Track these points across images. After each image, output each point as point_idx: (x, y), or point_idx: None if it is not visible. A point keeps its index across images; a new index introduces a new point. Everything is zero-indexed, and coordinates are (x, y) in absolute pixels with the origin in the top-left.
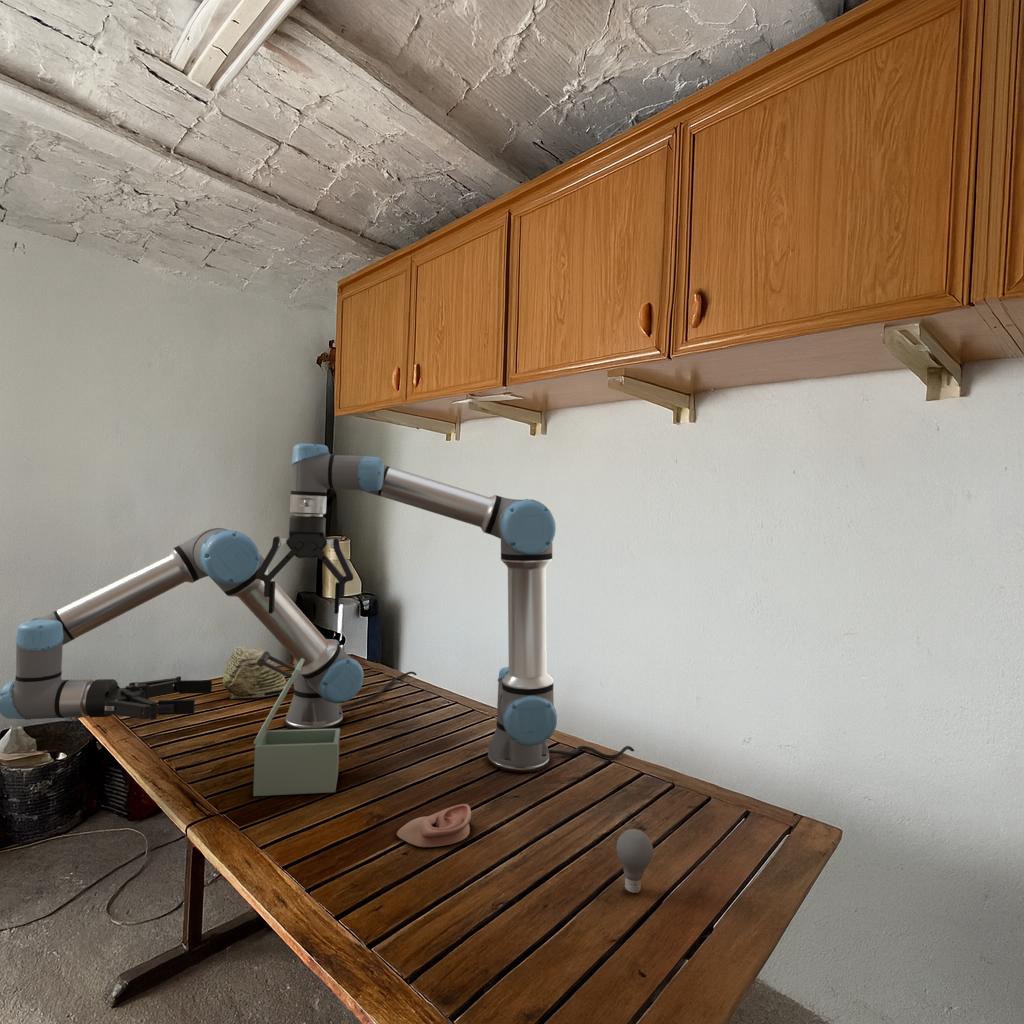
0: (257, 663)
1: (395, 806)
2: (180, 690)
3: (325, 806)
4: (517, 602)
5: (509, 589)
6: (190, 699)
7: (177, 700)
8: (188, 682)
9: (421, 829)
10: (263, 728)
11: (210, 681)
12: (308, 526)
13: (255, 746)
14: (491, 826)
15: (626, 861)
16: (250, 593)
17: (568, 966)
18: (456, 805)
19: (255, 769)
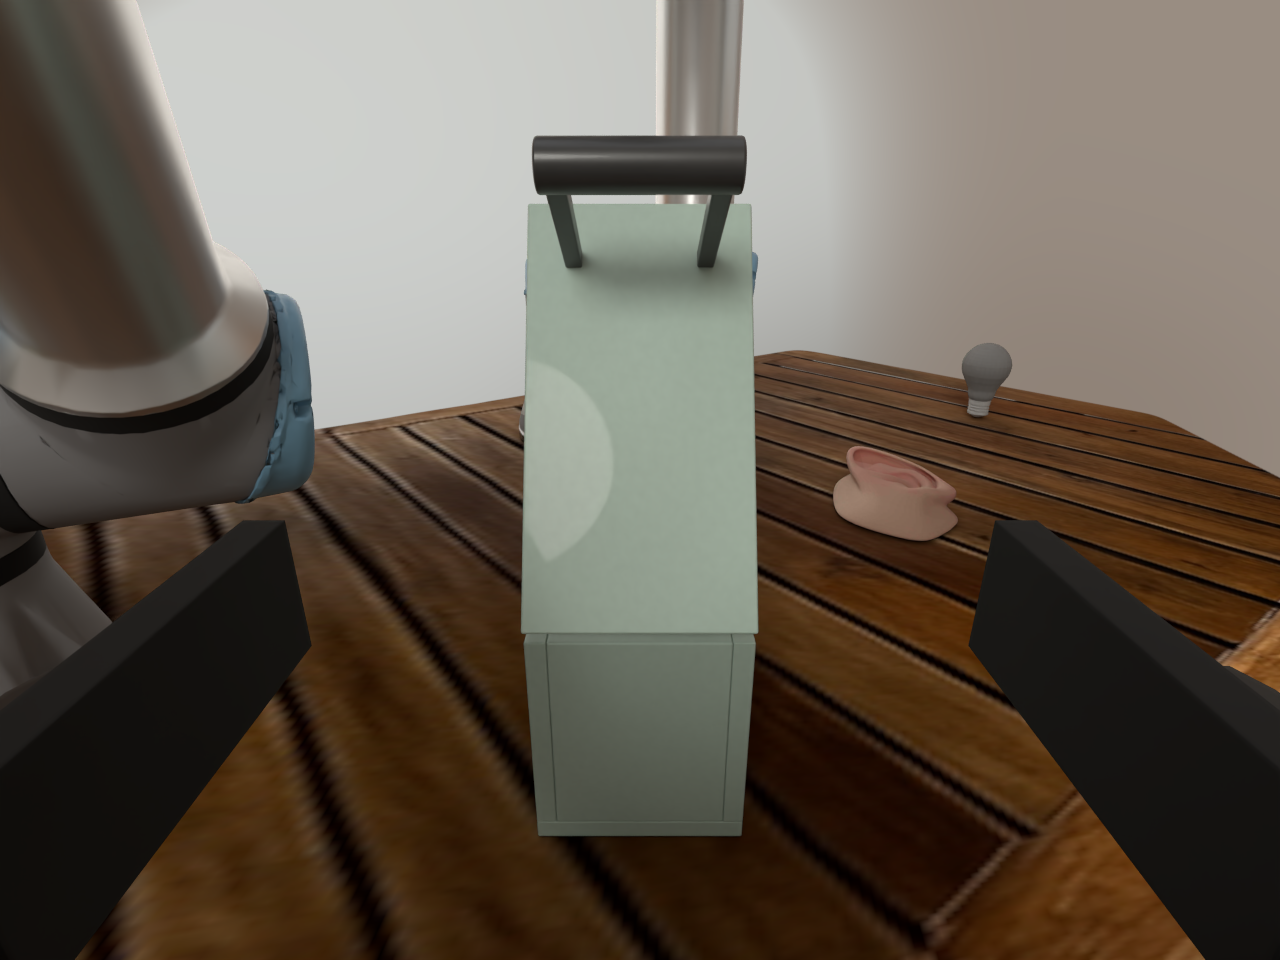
0: (745, 170)
1: (784, 544)
2: (40, 937)
3: (801, 641)
4: (733, 37)
5: (712, 2)
6: (1020, 539)
7: (1138, 615)
8: (100, 705)
9: (943, 495)
10: (756, 540)
11: (279, 529)
12: None
13: (752, 642)
14: (844, 468)
15: (1006, 375)
16: None
17: (1164, 456)
18: (850, 458)
19: (748, 734)
